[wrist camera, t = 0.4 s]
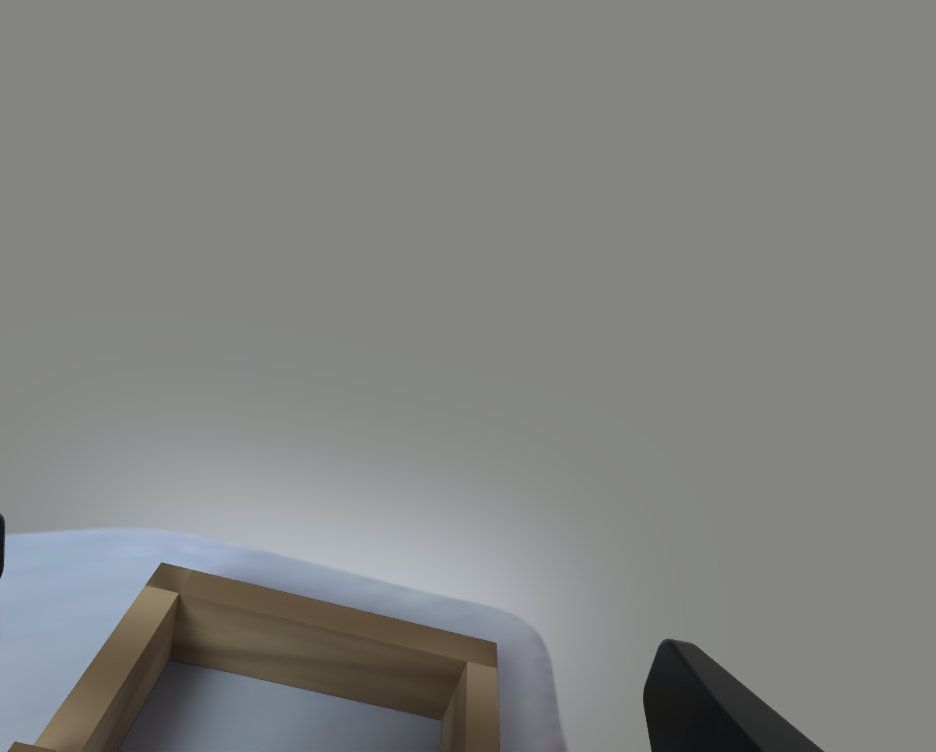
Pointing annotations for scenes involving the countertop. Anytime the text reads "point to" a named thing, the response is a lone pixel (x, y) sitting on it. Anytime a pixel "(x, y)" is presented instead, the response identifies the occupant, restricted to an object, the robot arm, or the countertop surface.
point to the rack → (277, 660)
